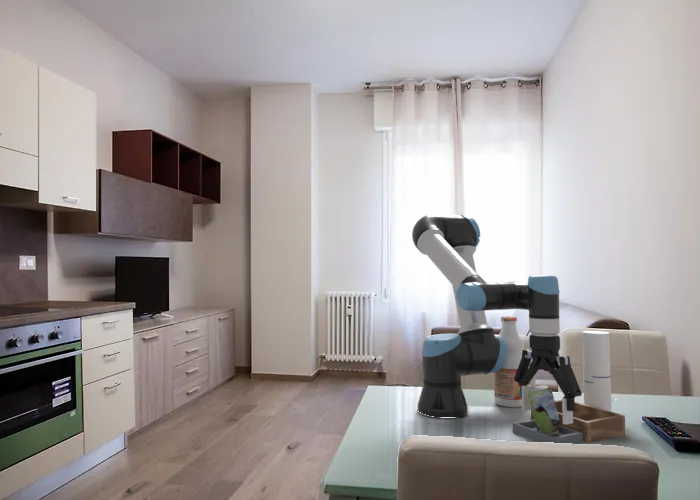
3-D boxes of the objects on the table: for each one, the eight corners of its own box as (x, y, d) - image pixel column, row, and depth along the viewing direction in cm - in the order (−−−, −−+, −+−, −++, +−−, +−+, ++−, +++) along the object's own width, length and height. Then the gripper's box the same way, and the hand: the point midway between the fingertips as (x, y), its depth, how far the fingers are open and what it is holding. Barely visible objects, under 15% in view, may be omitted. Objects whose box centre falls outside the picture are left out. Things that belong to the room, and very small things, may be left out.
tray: (512, 431, 134) (512, 423, 134) (540, 426, 138) (540, 418, 138) (554, 448, 121) (554, 438, 122) (583, 442, 126) (583, 432, 126)
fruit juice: (492, 399, 167) (491, 315, 168) (520, 400, 167) (520, 315, 168) (497, 407, 158) (497, 318, 159) (528, 408, 157) (527, 318, 158)
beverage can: (564, 436, 126) (559, 388, 127) (533, 437, 128) (529, 389, 128) (559, 429, 132) (554, 383, 133) (530, 429, 134) (525, 384, 134)
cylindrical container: (610, 423, 140) (608, 334, 142) (582, 420, 144) (580, 332, 145) (612, 417, 146) (610, 331, 148) (585, 414, 150) (583, 330, 151)
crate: (530, 422, 142) (530, 404, 142) (566, 416, 148) (565, 399, 148) (588, 443, 125) (587, 422, 125) (625, 434, 131) (624, 415, 131)
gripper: (595, 338, 121) (598, 427, 121) (520, 328, 144) (521, 403, 143) (573, 341, 118) (576, 432, 117) (500, 330, 141) (501, 406, 140)
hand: (546, 416), depth 130 cm, fingers open, 13 cm apart
